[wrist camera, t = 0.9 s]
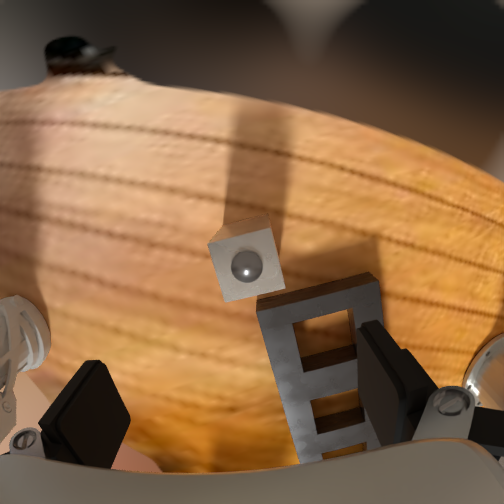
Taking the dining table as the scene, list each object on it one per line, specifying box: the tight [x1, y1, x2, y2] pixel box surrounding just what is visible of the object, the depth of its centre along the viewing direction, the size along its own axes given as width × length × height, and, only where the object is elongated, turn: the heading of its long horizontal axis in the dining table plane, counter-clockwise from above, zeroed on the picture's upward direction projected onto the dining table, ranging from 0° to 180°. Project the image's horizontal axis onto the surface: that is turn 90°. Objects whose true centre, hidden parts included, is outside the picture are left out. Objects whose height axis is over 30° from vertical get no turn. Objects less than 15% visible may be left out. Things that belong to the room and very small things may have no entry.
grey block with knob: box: [208, 214, 285, 302], centre depth 27 cm, size 4×4×9 cm
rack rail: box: [256, 272, 384, 464], centre depth 34 cm, size 12×30×3 cm, turn 15°
